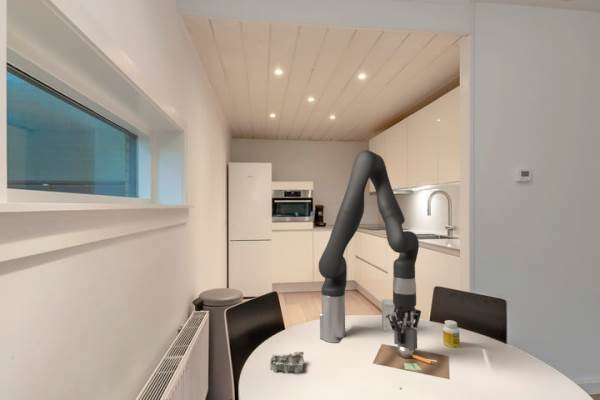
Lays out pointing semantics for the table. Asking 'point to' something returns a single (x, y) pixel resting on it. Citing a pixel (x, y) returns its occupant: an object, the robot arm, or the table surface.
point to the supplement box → (387, 309)
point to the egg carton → (284, 358)
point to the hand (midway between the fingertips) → (405, 342)
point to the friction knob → (408, 344)
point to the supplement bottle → (451, 334)
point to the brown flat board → (414, 361)
